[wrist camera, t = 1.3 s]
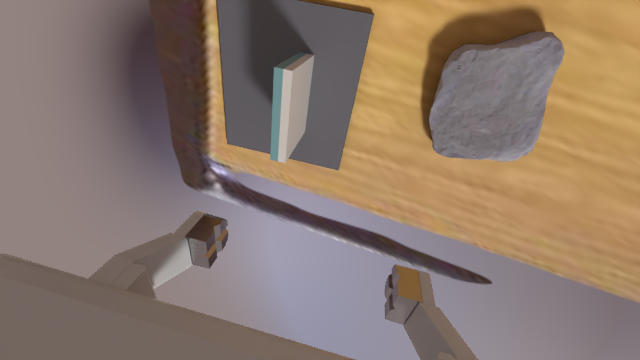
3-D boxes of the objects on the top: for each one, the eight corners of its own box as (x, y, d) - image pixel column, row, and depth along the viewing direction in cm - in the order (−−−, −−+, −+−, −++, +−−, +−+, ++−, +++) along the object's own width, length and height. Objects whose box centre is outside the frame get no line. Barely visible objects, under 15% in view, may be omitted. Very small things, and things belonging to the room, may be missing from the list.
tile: (300, 52, 28) (274, 67, 21) (314, 54, 28) (292, 71, 21) (292, 128, 33) (270, 159, 27) (305, 131, 33) (285, 163, 26)
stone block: (428, 145, 33) (524, 148, 29) (425, 163, 30) (534, 169, 25) (435, 41, 27) (557, 27, 23) (432, 47, 24) (576, 31, 20)
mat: (219, -15, 26) (216, -15, 26) (373, 14, 25) (373, 14, 25) (229, 141, 37) (227, 143, 36) (338, 168, 36) (338, 170, 35)
